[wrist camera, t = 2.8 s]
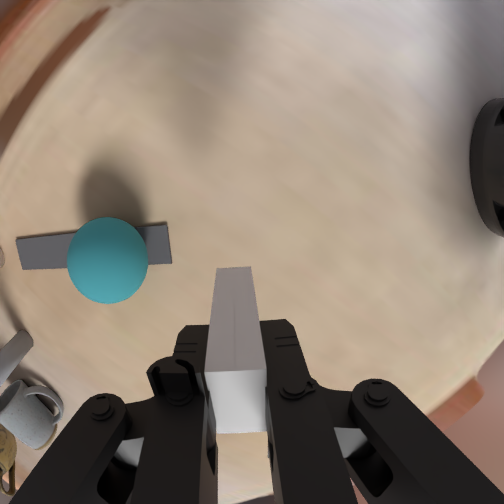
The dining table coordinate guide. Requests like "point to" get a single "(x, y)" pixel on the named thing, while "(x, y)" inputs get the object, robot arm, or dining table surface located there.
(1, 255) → the white pin
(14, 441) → the ceramic bowl
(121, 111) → the dining table surface
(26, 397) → the ceramic mug
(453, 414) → the dining table surface
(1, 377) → the grey pin
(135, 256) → the ball
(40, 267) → the grey flat bar
